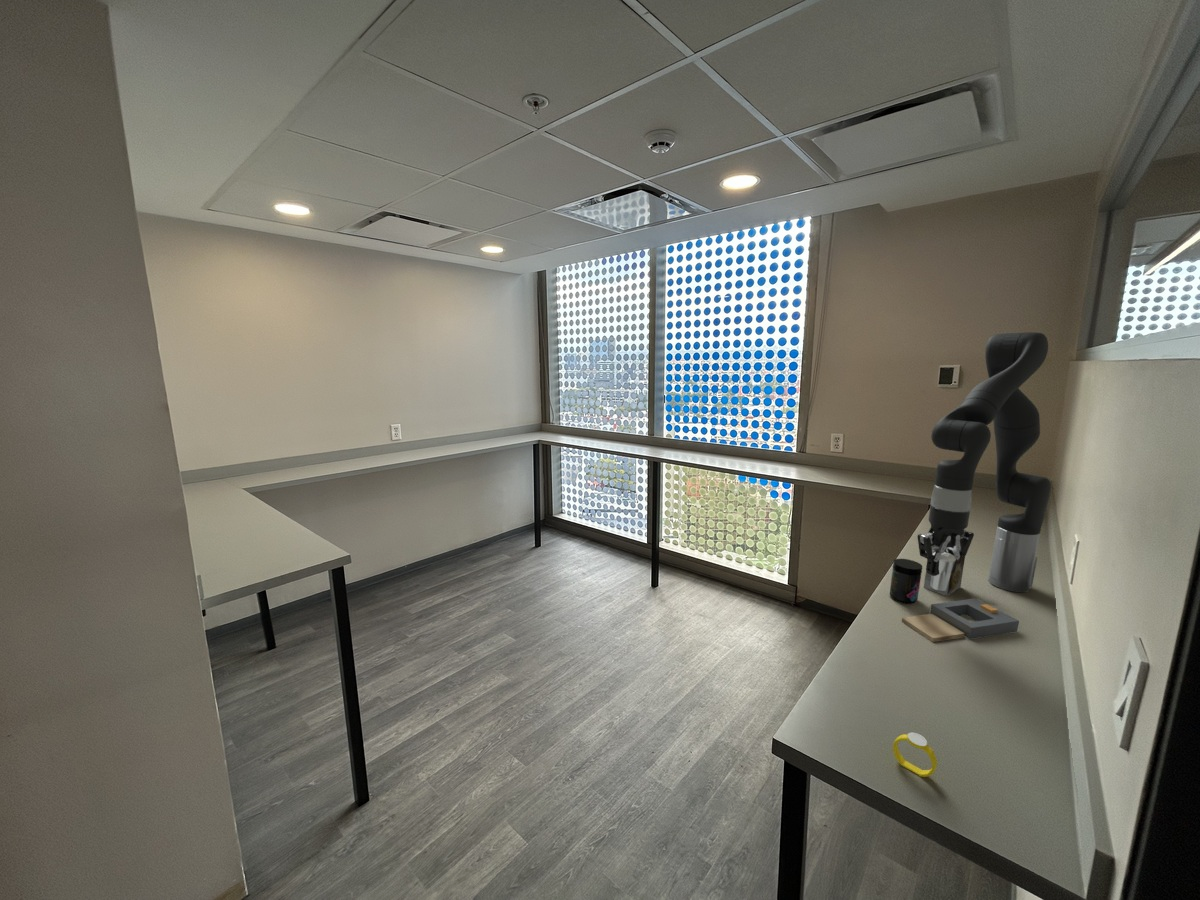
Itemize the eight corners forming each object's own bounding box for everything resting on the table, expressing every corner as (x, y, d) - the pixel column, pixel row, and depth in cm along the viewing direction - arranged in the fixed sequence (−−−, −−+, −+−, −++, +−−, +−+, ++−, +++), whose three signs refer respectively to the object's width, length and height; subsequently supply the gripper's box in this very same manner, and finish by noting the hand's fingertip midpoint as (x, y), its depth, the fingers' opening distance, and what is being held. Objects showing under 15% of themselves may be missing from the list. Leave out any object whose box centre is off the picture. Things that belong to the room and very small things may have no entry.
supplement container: (902, 606, 129) (907, 570, 127) (883, 594, 135) (887, 559, 133) (923, 603, 130) (928, 567, 128) (903, 591, 137) (908, 557, 134)
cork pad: (931, 617, 123) (931, 613, 123) (964, 637, 115) (964, 633, 115) (901, 621, 122) (902, 617, 121) (932, 642, 113) (933, 638, 113)
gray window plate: (974, 608, 127) (976, 595, 127) (1017, 631, 117) (1019, 617, 116) (929, 614, 125) (931, 601, 124) (969, 639, 114) (972, 624, 113)
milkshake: (951, 586, 117) (958, 548, 115) (948, 594, 113) (955, 554, 111) (929, 580, 120) (935, 543, 118) (925, 588, 116) (932, 549, 114)
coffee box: (936, 579, 144) (943, 528, 141) (961, 587, 139) (969, 534, 135) (922, 587, 139) (929, 535, 136) (947, 596, 134) (956, 542, 130)
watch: (934, 777, 78) (942, 747, 76) (929, 786, 76) (937, 756, 75) (894, 751, 82) (901, 723, 81) (888, 760, 81) (895, 731, 79)
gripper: (960, 498, 117) (950, 563, 120) (910, 502, 114) (902, 569, 117) (991, 508, 110) (979, 577, 113) (938, 512, 107) (928, 583, 110)
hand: (940, 573), depth 115 cm, fingers closed on milkshake, 4 cm apart
